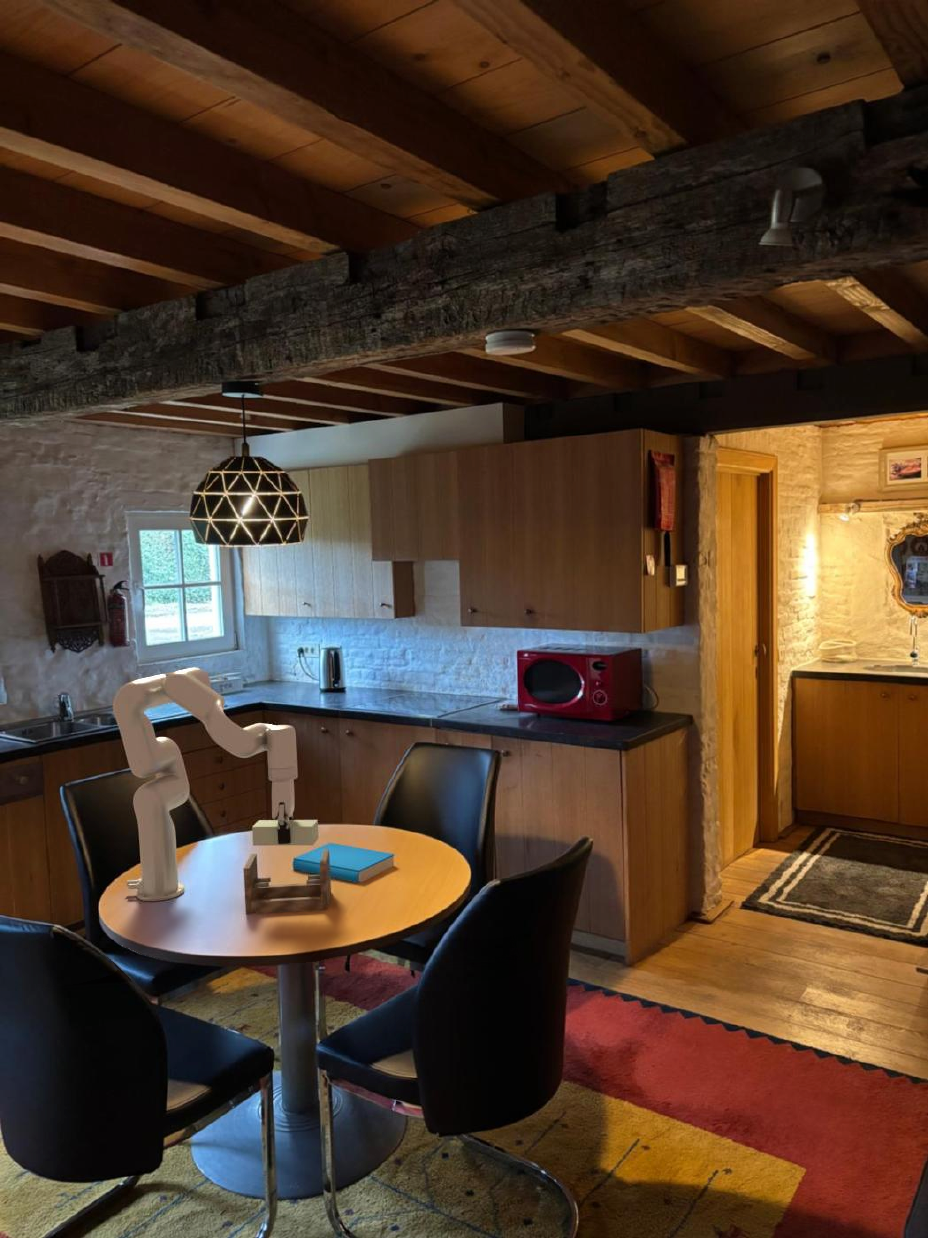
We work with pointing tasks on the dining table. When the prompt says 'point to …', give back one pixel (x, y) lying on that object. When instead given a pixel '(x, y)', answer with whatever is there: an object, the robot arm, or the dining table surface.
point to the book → (345, 862)
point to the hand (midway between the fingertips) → (286, 838)
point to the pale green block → (299, 832)
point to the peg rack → (286, 890)
